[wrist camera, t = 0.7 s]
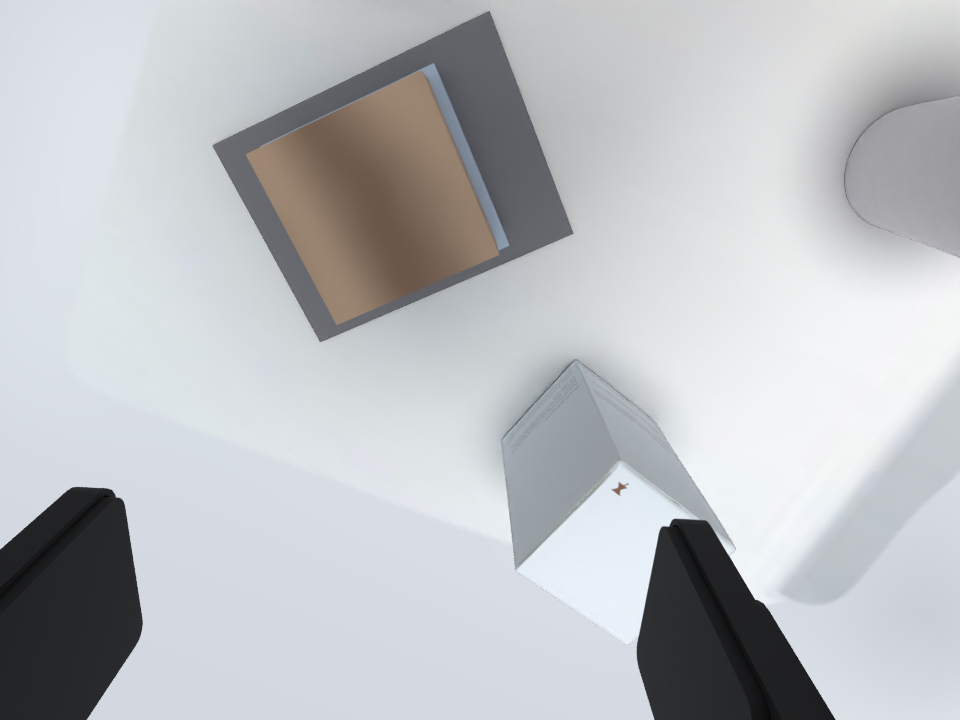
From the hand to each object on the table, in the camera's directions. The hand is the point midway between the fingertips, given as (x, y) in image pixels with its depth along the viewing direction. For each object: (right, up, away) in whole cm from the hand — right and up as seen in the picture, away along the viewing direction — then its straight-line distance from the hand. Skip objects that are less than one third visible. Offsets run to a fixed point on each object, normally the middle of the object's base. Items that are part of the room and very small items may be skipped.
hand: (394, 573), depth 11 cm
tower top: (-3, +12, +19) cm, 23 cm away
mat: (-3, +13, +23) cm, 27 cm away
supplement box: (+8, -1, +29) cm, 30 cm away
